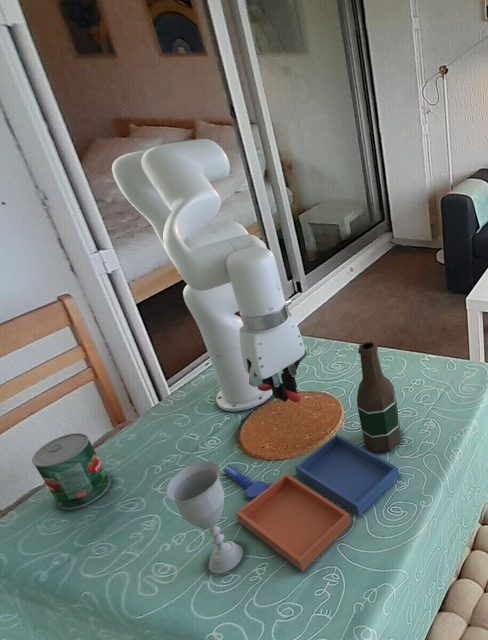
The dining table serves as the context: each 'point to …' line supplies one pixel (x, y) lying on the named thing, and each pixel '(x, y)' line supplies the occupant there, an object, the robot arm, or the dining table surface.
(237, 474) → the blue spoon
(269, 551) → the dining table surface
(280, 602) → the dining table surface
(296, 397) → the red spoon
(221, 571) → the chalice
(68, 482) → the canned tomato
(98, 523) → the dining table surface
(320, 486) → the blue tray
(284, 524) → the terracotta tray
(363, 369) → the beer bottle
